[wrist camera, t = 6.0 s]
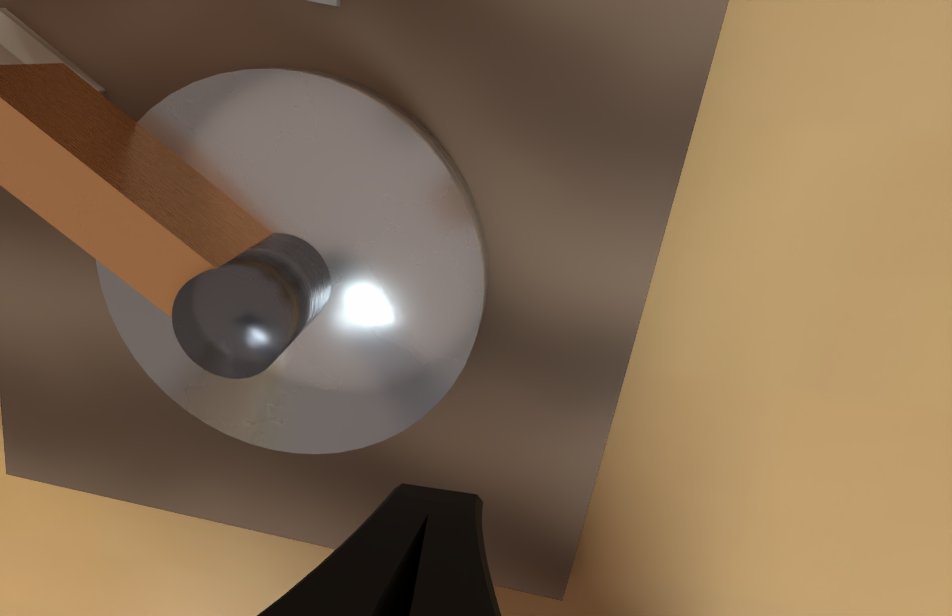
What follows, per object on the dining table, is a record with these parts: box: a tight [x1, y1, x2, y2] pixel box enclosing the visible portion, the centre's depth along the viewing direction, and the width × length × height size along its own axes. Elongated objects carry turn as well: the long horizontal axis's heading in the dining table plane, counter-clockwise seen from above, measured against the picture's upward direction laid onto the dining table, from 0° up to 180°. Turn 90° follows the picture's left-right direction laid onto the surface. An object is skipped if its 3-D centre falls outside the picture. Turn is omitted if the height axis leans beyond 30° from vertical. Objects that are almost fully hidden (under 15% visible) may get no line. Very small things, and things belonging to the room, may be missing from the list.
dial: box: [0, 63, 488, 454], centre depth 17 cm, size 12×10×4 cm
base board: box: [0, 0, 729, 601], centre depth 19 cm, size 18×18×1 cm
